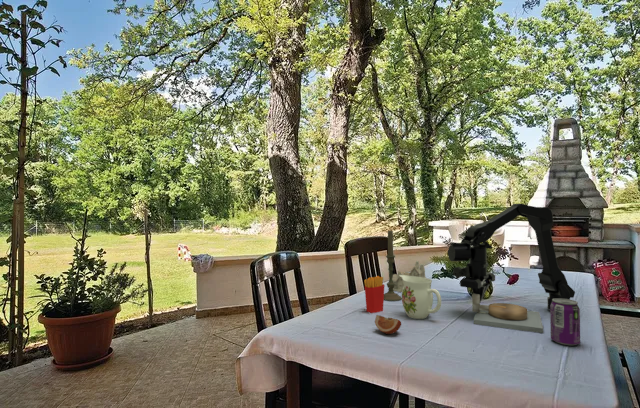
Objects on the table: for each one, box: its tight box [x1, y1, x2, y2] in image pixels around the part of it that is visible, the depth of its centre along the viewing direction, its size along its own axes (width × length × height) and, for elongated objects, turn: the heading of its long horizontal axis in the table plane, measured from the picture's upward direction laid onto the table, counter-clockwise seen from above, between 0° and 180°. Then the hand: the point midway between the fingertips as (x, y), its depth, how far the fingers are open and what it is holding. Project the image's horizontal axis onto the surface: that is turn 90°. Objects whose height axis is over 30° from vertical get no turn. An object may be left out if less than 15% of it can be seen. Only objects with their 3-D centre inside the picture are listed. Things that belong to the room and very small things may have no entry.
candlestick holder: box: [384, 229, 402, 302], centre depth 157 cm, size 9×9×30 cm
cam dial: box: [471, 293, 528, 320], centre depth 127 cm, size 17×12×6 cm
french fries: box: [363, 275, 385, 314], centre depth 138 cm, size 9×4×13 cm, turn 127°
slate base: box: [473, 310, 544, 334], centre depth 126 cm, size 21×20×2 cm
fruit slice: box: [374, 314, 402, 335], centre depth 114 cm, size 8×7×5 cm
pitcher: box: [399, 275, 442, 320], centre depth 130 cm, size 11×18×14 cm, turn 36°
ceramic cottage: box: [392, 260, 427, 293], centre depth 173 cm, size 16×16×15 cm
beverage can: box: [549, 298, 581, 347], centre depth 104 cm, size 7×7×12 cm
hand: (478, 303), depth 132 cm, fingers closed
